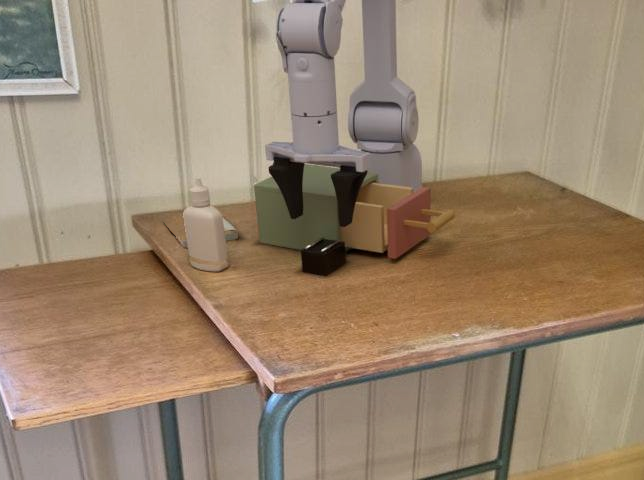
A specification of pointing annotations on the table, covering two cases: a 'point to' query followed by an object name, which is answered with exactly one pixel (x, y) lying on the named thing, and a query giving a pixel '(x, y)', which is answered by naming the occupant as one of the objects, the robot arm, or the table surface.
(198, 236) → the eye dropper bottle
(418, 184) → the robot arm
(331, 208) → the cabinet
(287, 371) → the table surface
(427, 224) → the drawer
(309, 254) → the clip
